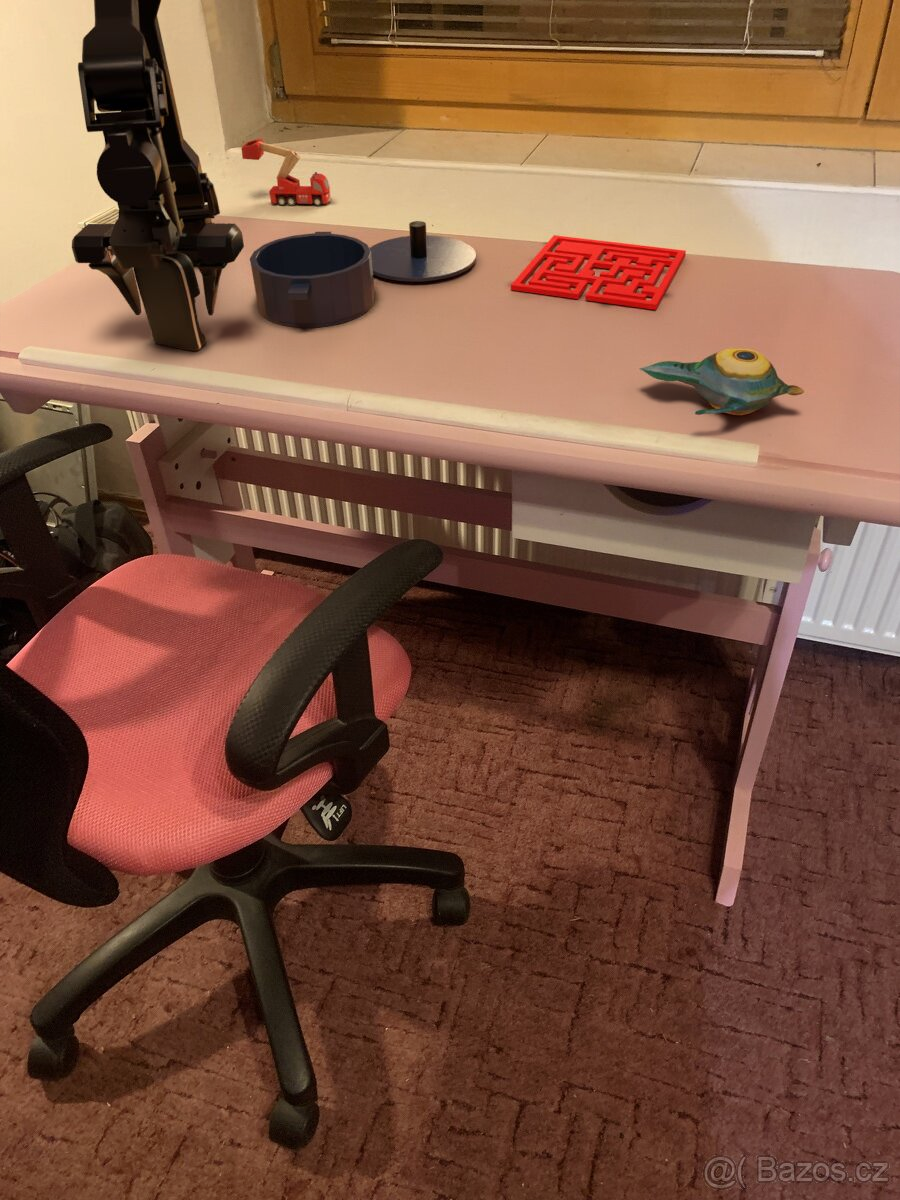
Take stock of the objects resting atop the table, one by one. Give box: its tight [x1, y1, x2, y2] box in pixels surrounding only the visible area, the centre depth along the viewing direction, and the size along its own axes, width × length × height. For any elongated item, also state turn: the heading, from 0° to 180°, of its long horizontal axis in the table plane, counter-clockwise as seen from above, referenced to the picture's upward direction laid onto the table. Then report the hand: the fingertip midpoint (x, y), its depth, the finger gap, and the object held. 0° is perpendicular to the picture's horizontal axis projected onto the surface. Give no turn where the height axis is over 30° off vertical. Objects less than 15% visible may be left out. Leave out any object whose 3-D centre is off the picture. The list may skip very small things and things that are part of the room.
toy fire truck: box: [240, 138, 331, 207], centre depth 147 cm, size 3×14×10 cm, turn 84°
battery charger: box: [133, 252, 207, 352], centre depth 107 cm, size 7×4×11 cm, turn 66°
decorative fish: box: [638, 347, 805, 416], centre depth 95 cm, size 13×12×6 cm
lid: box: [369, 220, 477, 282], centre depth 127 cm, size 17×17×6 cm
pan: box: [249, 231, 376, 329], centre depth 117 cm, size 16×21×6 cm
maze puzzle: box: [510, 234, 687, 311], centre depth 124 cm, size 20×20×1 cm
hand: (174, 314), depth 108 cm, fingers open, 9 cm apart
